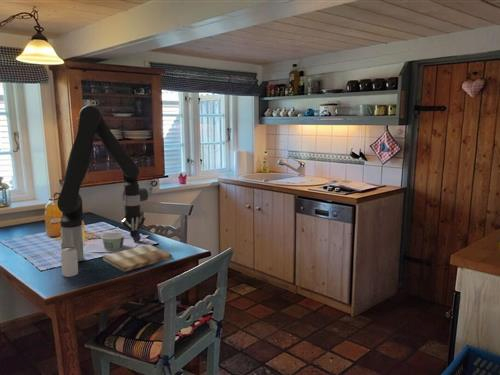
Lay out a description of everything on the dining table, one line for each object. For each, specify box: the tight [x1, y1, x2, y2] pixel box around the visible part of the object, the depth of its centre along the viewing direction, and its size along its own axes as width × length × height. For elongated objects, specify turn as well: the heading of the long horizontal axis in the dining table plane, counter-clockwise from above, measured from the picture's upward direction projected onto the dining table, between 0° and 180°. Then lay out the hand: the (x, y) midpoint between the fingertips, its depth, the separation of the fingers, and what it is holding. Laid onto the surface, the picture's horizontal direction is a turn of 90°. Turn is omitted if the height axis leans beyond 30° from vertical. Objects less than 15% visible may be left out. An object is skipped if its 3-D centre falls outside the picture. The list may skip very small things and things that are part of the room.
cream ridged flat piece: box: [102, 244, 161, 266], centre depth 204 cm, size 26×10×2 cm, turn 136°
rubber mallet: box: [122, 187, 149, 243], centre depth 224 cm, size 12×8×30 cm, turn 129°
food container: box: [100, 231, 126, 251], centre depth 217 cm, size 12×12×7 cm
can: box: [60, 246, 79, 278], centre depth 179 cm, size 6×6×12 cm
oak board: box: [112, 248, 173, 273], centre depth 197 cm, size 26×10×2 cm, turn 136°
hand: (133, 237), depth 205 cm, fingers closed
